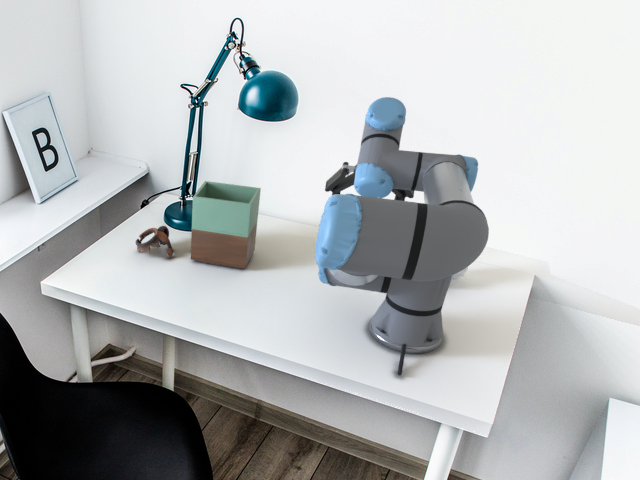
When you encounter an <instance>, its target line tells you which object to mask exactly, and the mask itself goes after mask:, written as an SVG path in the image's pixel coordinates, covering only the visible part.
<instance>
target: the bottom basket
mask: <svg viewBox="0 0 640 480" xmlns="http://www.w3.org/2000/svg"><path fill="white" fill-rule="evenodd" d="M257 229H258V221H257V222H256V224H255V225H254V227H253V229H252V231H251V233H250V235H249V237H248V238H247V237H241V236H234V235H228V234H221V233H215V232H208V231H201V230H195V229H192V228H191V234H190V235H191V238H190V260H192V261H195V262H197V263H203V264H208V265H214V266H220V267H227V268H232V269H233V268H234V269H238V270H242V269H246V268H247V266H248V264H249V262H250V259H251V258H252V256H253V254H254V252H255V249H256V239H257V231H258V230H257Z"/></svg>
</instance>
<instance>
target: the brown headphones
mask: <svg viewBox="0 0 640 480" xmlns="http://www.w3.org/2000/svg"><path fill="white" fill-rule="evenodd" d="M153 233H154V235H153V236H152V237H151V238H150V239H149V240H147V241H144V239H145V238H146V237H148V236H150V235H152V234H153ZM142 241H144V242H143V243H142ZM135 245H136V251H137V252H138V253H139V254H143V253H147V254H151V248H156V249H159V248H161V247H162V246H166V247H167V251H166V255H167V257H168V259H171V258H172V257H173V256H174V249H173V246H172V244H171V241H170V229H169V228H168V227H167V226H166V225H161V226H159V227H158V228H157V227H150V228H148V229H146V230H144V231H142V233H140V234H139V235H138V238H136V239H135Z"/></svg>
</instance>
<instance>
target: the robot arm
mask: <svg viewBox="0 0 640 480" xmlns="http://www.w3.org/2000/svg"><path fill="white" fill-rule="evenodd" d="M406 116H407V107H406V106H405V104H404V103H403V102H402V101H401V99H398V98H395V97H390V96H389V97H388V96H385V97H384V96H383V97H380V98H377V99H375V100H374V101H373V102H372V103H371V104H369V106H368V109H367V112H366V114H365V118H364V125H363V130H362V136H361V141H360V146H359V153H358V159H357V163H356V164H355V165H349V164H350V163H349V162H348V161H343V163H342V166H341V167H340V168H339V169H338V170H337V171H336V172H335V173H334V174H333V175H331V177H329V178H328V179H327V180H326V181H325V188H324V191H325V192H326V193H329V192H331V195H330V196H329V197H328V198H327V200H326V201H325V203H324V208H323V212H322V214H321V218H320V221H319V226H318V231H317V236H316V242H315V248H314V249H315V250H314V253H315V255H314V261H315V264H316V266H318V279H319V281H320V282H321V283H322V284H324V285H325V284H326V285H329V286H331V287H342V288H349V289H356V290H362V291H368V292H369V291H370V292H376V293H381V294H386V295H385V298H384V300H383V301H382V303H381V304H380V305H379V307H378V309H377V310H376V311H375V313H374V314H373V315H372V317H371V319H370V323H369V332H370V335H371V337H373V339H374V340H375V341H376V342H378V343H379V344H380V345H382V346H383V347H386V348H388V349H390V350H393V351H396V352H400V355H399V362H398V367H397V375H398V376H402V374H403V368H404V361H405V355H406V354H425V353H430V352H432V351H434V350H436V349H438V347H440V346H441V343H442V340H443V337H444V328H443V327H444V325H443V317H442V315H443V314H442V309H443V306H444V303H445V299H446V296H447V294H448V290H449V286H450V284H451V280H452V279H451V277H452V275H454V274H456V273H458V272H460V271H462V270H464V269H465V268H467V267H468V268H469V267H470V265H472V264H473V263H474V262H475V261H476V260H477V259H478V258H479V256H481V255H482V253H483V251H485V248H486V246H487V244H488V240H489V236H490V235H489V233H490V227H489V223H488V220H487V217H486V214H485V213H484V211H483V210H482V209H481V207H479V206H478V205H477V204H475V203H474V199H473V196H472V191H473V189H474V186H475V184H476V180H477V178H478V177H477V176H478V173H479V172H478V171H479V161H478V159H477V158H476V157H472V156H466V155H462V154H449V153H435V152H422V151H414V150H403V149H400V147H401V139H402V132H403V130H404V129H403V128H404V125H405V124H406ZM350 187H353V188H354V190H355V192H356V193H357V194H358V195H357V194H353V193H345V194H344V193H343V194H342V191H344V190H346V189H348V188H350ZM415 192H423V200H424V201H423V202H416V201H406V198H408V199H413V198H414V197H415ZM391 193H393V194H394V199H391V198H386V197H388V196H389V195H390V194H391Z"/></svg>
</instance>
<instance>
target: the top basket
mask: <svg viewBox="0 0 640 480" xmlns="http://www.w3.org/2000/svg"><path fill="white" fill-rule="evenodd" d="M261 190H262V189H261V187H256V186H247V185H241V184H240V185H239V184H232V183H225V182H223V183H222V182H216V181H210V180H209V181H208V180H204V181H203V183H202V184H201V186H200V187H199V188H198V189H197V191H196V192H195V193H194V195H193V196H192V206H191V207H192V208H191V209H192V211H191V230H192V229H195V230H201V231H208V232H215V233H221V234H228V235H234V236H241V237H247V238H248V237H249V235H250V233H251V231H252V229H253V227H254V225H255V224H256V222H257V223H258V219H259V210H260V200H261Z"/></svg>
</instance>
